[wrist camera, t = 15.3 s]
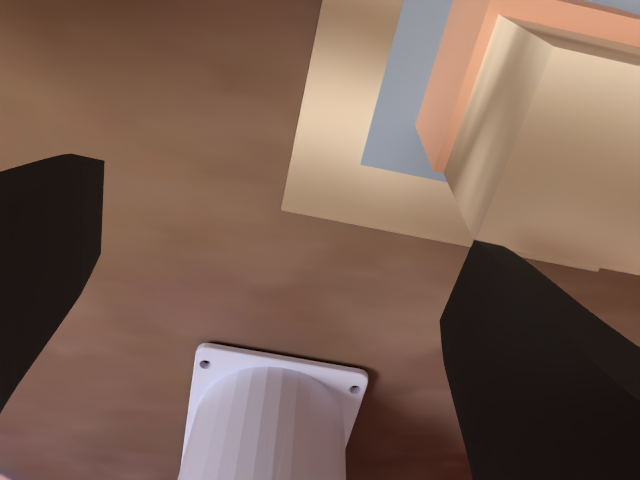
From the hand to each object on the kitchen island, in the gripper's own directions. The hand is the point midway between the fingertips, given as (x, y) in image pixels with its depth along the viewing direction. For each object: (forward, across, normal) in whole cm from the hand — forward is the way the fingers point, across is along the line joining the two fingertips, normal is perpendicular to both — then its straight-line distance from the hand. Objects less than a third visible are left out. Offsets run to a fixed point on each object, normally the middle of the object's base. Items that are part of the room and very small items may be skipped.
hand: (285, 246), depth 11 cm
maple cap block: (+6, -6, -2) cm, 9 cm away
